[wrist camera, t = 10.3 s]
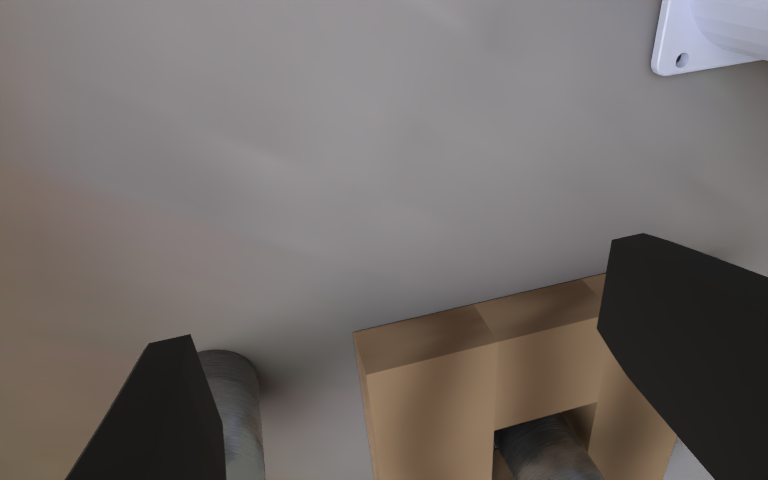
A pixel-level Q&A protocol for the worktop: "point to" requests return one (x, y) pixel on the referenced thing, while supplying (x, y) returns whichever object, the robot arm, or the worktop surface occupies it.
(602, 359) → the hole plate
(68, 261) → the worktop surface
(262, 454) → the short pin
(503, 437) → the long pin
